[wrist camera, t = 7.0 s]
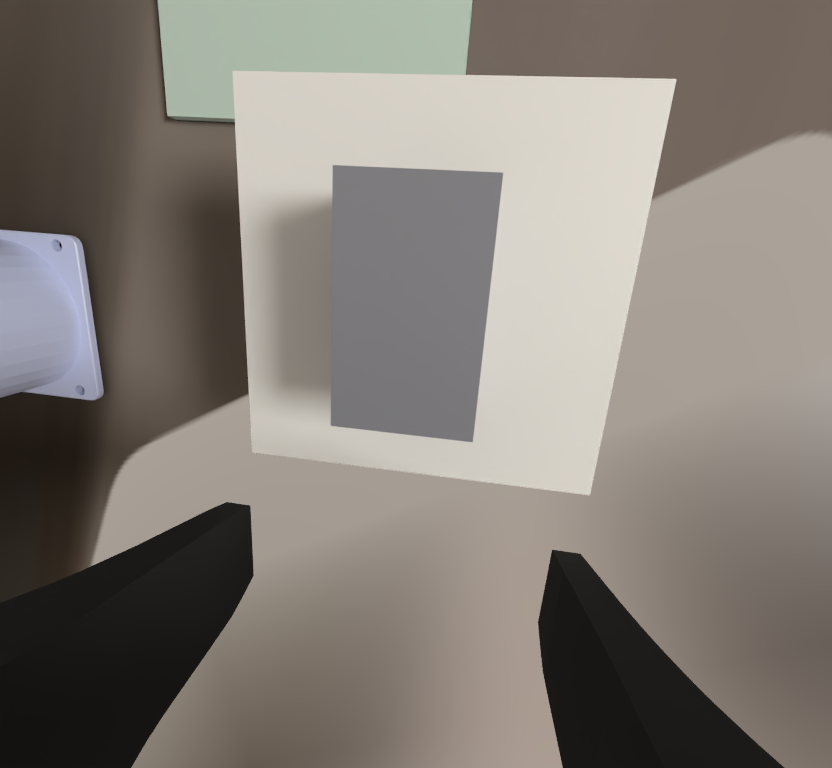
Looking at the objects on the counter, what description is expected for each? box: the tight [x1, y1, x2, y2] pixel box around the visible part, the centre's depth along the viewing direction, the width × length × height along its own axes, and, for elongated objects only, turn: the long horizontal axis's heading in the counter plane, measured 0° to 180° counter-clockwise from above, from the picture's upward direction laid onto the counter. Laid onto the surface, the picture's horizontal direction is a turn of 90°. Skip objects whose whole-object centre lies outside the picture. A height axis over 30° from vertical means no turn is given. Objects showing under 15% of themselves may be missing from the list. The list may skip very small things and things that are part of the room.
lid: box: [232, 71, 676, 495], centre depth 10 cm, size 10×10×4 cm
